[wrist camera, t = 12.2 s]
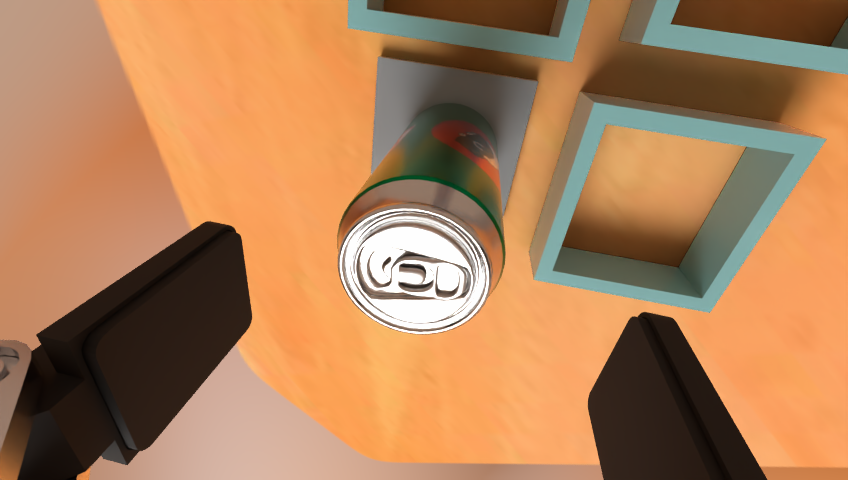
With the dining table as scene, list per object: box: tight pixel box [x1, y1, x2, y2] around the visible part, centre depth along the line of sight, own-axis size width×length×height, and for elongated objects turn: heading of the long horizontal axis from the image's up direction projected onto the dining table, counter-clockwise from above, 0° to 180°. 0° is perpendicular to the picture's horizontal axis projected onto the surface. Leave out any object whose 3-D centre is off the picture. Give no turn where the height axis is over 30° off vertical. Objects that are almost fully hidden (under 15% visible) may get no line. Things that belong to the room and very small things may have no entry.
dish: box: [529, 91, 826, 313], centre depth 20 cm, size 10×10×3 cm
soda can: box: [337, 103, 505, 334], centre depth 16 cm, size 5×5×12 cm
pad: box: [371, 56, 538, 215], centre depth 21 cm, size 8×8×1 cm
